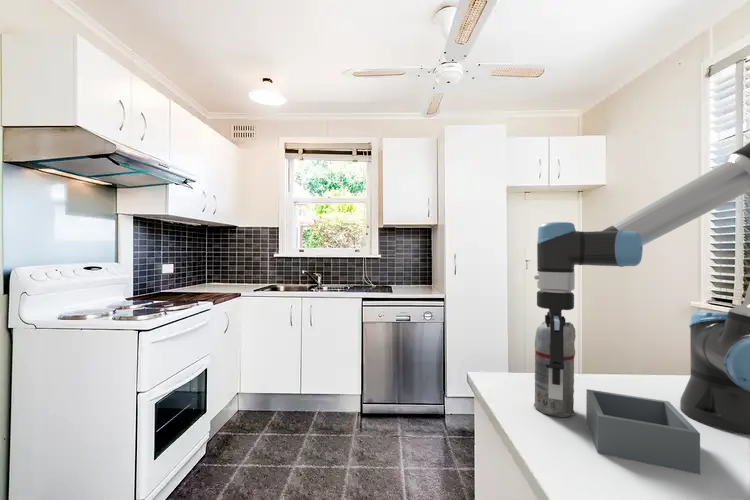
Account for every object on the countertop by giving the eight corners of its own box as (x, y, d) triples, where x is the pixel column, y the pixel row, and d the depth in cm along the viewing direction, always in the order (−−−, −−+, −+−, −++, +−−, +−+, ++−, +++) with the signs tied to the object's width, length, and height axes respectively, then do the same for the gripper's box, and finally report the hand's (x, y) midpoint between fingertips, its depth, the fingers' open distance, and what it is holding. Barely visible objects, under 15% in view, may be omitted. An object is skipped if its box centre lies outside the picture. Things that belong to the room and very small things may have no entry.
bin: (668, 434, 69) (668, 401, 69) (700, 474, 56) (700, 433, 56) (586, 419, 74) (586, 389, 75) (597, 452, 62) (598, 415, 62)
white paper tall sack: (581, 421, 74) (581, 326, 74) (539, 416, 75) (540, 323, 76) (567, 404, 82) (568, 319, 83) (530, 401, 84) (531, 317, 84)
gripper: (536, 286, 90) (535, 374, 90) (537, 293, 71) (536, 405, 71) (569, 288, 87) (568, 379, 87) (580, 296, 68) (579, 413, 68)
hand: (554, 391), depth 79 cm, fingers closed on white paper tall sack, 8 cm apart
